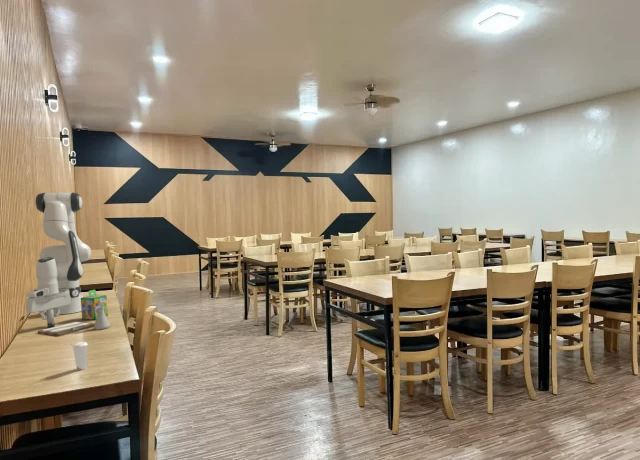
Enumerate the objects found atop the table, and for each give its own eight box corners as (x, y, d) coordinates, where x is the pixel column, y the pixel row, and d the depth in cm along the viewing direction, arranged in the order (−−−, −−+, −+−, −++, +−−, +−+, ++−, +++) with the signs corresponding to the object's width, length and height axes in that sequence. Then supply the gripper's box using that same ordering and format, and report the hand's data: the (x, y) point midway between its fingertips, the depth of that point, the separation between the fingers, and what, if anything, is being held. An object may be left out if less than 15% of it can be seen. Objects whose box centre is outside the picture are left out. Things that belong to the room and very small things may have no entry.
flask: (113, 325, 211) (111, 305, 211) (104, 329, 204) (103, 308, 203) (99, 326, 212) (97, 306, 211) (90, 330, 204) (88, 309, 204)
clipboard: (37, 333, 204) (37, 329, 204) (76, 323, 221) (76, 319, 221) (59, 336, 196) (59, 331, 196) (97, 325, 213) (97, 321, 213)
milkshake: (70, 369, 150) (68, 341, 149) (87, 365, 153) (84, 337, 153) (74, 372, 146) (71, 343, 146) (91, 368, 150) (89, 339, 150)
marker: (46, 327, 214) (44, 303, 214) (52, 326, 217) (50, 302, 217) (49, 328, 213) (47, 304, 212) (56, 326, 216) (54, 302, 215)
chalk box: (95, 320, 226) (93, 291, 225) (81, 319, 229) (79, 291, 228) (108, 315, 235) (106, 288, 234) (95, 315, 237) (93, 288, 237)
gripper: (65, 286, 225) (67, 312, 225) (22, 294, 207) (25, 322, 207) (72, 287, 222) (74, 313, 223) (30, 294, 204) (32, 323, 204)
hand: (50, 318), depth 215 cm, fingers open, 4 cm apart
